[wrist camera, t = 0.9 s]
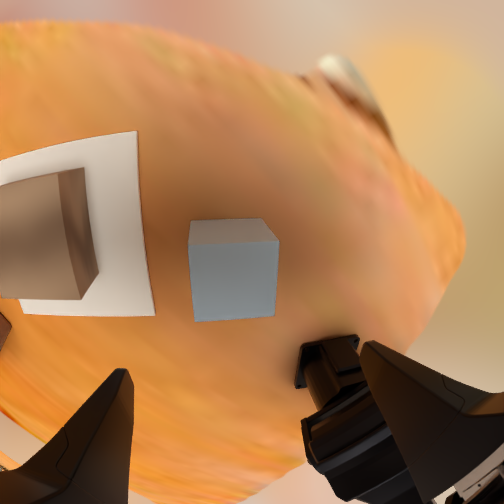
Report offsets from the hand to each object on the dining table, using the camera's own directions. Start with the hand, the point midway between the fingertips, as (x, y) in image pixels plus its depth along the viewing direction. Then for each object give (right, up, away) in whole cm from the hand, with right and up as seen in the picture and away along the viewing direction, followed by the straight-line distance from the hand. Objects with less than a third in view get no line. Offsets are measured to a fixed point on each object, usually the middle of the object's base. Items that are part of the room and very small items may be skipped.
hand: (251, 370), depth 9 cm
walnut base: (-15, +6, +7) cm, 18 cm away
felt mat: (-15, +5, +8) cm, 18 cm away
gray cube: (-2, +4, +11) cm, 12 cm away
